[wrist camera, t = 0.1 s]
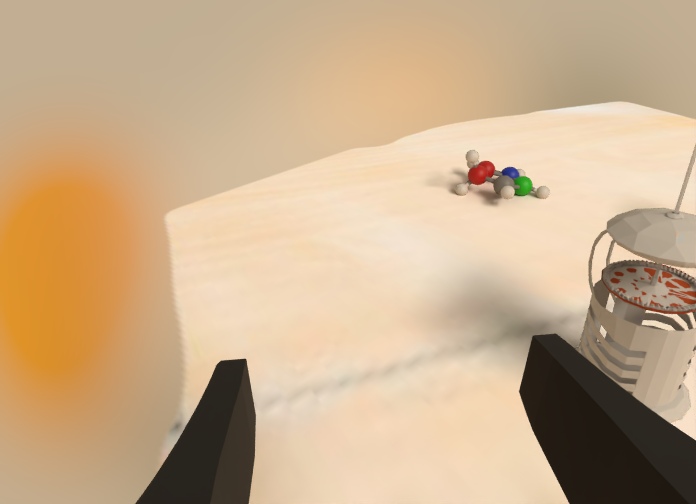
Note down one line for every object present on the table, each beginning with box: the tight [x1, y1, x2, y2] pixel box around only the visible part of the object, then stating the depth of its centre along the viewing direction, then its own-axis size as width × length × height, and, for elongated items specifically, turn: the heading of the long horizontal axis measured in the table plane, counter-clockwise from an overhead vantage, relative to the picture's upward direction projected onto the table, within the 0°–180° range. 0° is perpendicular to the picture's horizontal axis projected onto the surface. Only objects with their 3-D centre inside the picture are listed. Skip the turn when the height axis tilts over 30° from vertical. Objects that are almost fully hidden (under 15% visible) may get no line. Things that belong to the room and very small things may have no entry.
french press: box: [574, 145, 696, 423], centre depth 37 cm, size 10×12×25 cm
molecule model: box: [455, 150, 550, 199], centre depth 80 cm, size 15×7×14 cm
